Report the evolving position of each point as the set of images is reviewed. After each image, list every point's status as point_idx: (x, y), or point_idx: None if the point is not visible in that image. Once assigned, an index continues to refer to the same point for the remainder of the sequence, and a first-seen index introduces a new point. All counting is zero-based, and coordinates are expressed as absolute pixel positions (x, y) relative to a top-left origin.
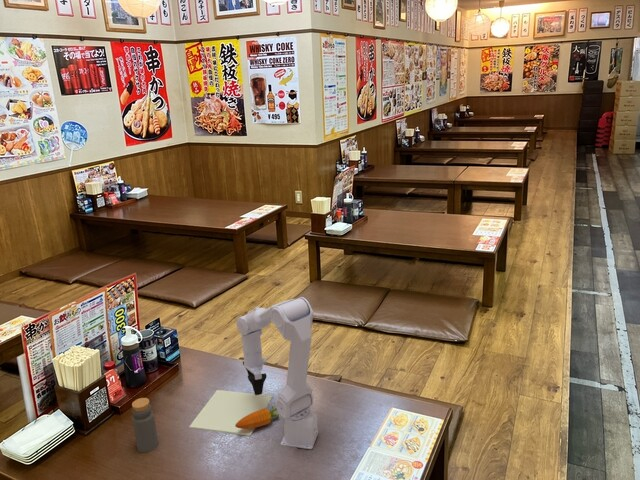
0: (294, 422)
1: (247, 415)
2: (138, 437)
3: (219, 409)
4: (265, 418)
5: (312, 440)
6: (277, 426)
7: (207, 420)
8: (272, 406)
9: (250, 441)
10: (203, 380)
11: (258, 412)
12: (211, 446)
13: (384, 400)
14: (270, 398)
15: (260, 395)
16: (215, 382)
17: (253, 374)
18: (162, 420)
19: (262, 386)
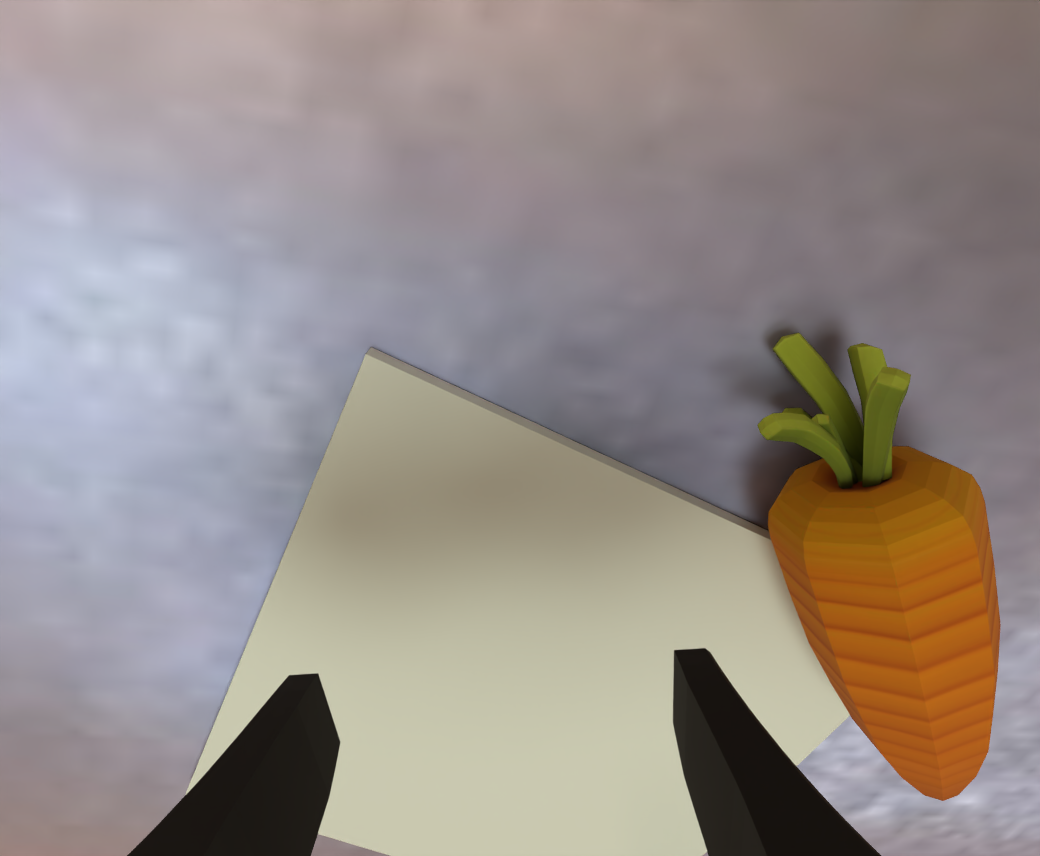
0: None
1: (938, 748)
2: None
3: (483, 789)
4: (988, 544)
5: None
6: (943, 366)
7: (601, 851)
8: (775, 435)
9: (1006, 612)
10: (20, 847)
11: (949, 647)
12: (889, 823)
13: None
14: (420, 383)
15: (335, 481)
16: (48, 785)
17: (270, 848)
18: None
19: (802, 780)
